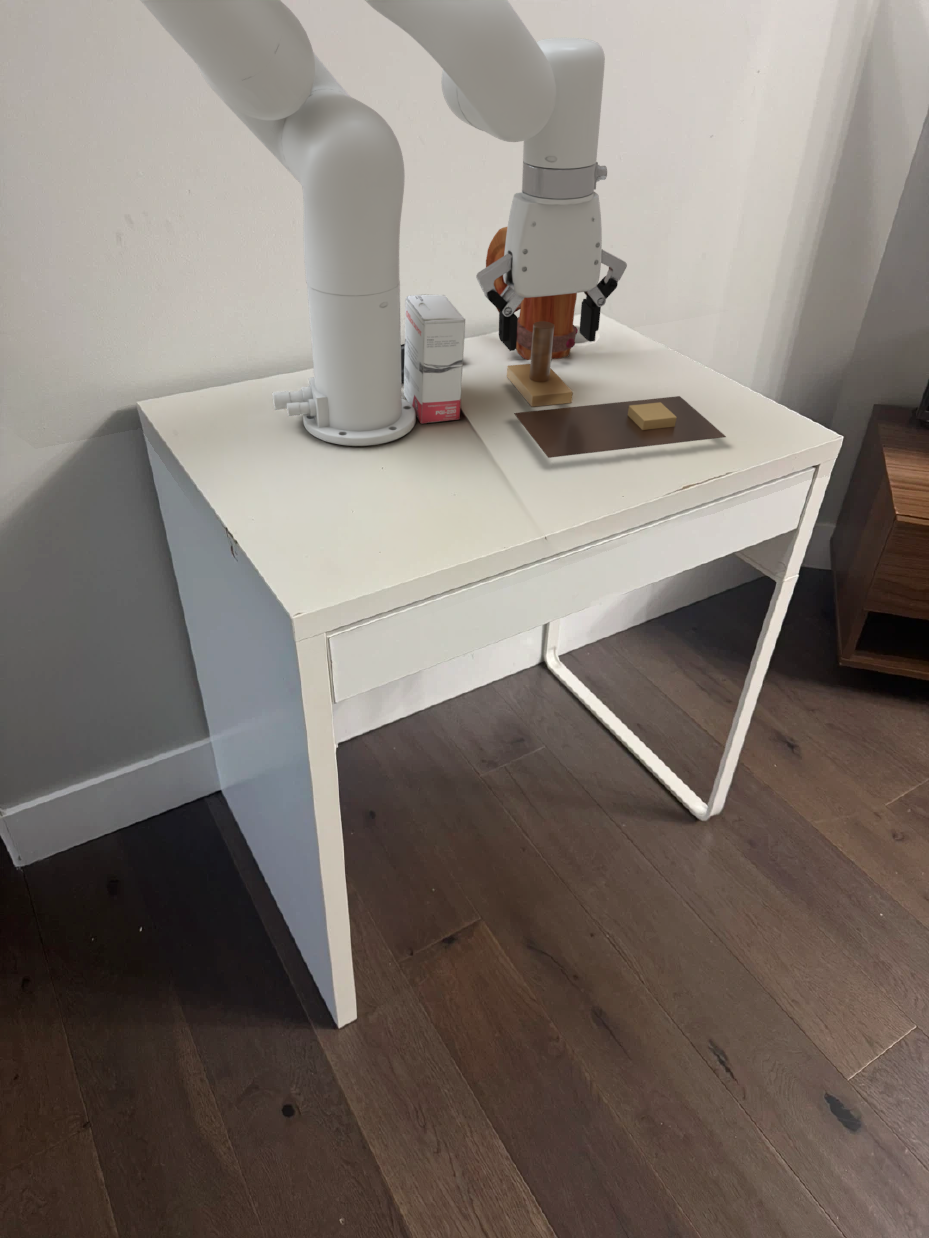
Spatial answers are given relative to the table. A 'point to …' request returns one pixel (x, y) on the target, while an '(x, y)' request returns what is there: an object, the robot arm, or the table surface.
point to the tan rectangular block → (651, 416)
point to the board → (611, 427)
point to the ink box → (433, 357)
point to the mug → (537, 310)
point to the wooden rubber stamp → (540, 372)
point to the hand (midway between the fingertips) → (548, 342)
